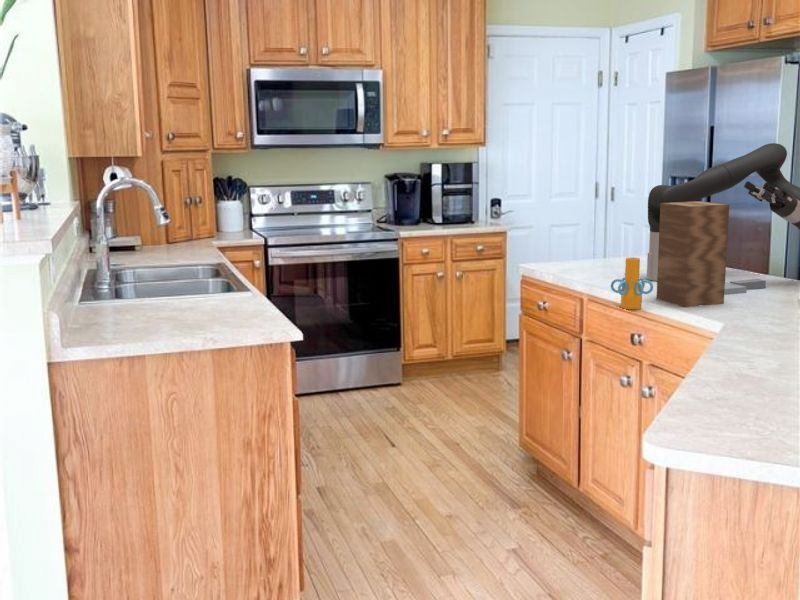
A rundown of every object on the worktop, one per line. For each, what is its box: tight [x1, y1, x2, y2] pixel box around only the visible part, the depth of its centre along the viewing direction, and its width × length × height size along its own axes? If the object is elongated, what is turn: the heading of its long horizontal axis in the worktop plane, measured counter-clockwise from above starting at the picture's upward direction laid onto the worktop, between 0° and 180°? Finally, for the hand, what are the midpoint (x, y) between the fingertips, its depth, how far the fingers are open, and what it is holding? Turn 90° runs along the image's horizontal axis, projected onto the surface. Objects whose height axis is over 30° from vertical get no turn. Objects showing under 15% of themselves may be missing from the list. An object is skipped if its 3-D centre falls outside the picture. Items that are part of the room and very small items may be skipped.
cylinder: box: [610, 256, 654, 311], centre depth 241 cm, size 12×10×15 cm
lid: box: [724, 278, 767, 296], centre depth 267 cm, size 23×12×2 cm, turn 107°
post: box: [656, 200, 730, 308], centre depth 247 cm, size 14×14×30 cm
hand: (755, 184), depth 263 cm, fingers open, 8 cm apart
